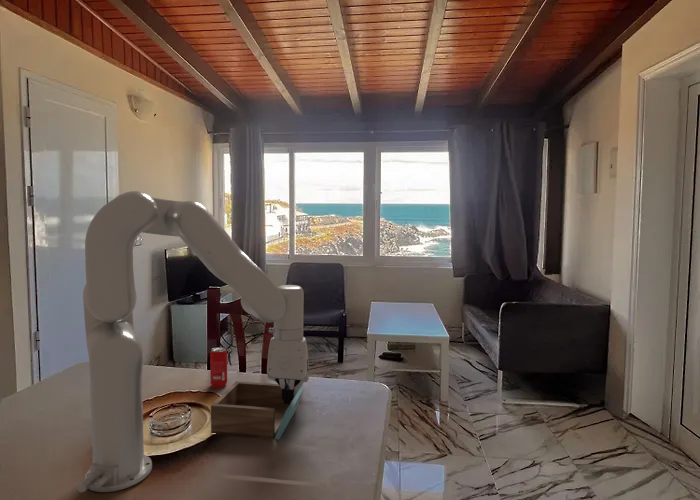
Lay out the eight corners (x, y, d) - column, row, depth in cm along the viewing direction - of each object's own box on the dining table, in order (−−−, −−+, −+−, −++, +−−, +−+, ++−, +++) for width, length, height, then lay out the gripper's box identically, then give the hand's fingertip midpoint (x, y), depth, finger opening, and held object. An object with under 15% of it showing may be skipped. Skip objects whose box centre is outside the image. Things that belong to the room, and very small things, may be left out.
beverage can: (207, 387, 139) (206, 350, 138) (216, 381, 144) (216, 346, 143) (221, 389, 137) (221, 352, 136) (230, 383, 142) (230, 347, 141)
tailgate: (278, 440, 106) (289, 413, 105) (275, 438, 106) (285, 411, 105) (295, 410, 122) (304, 387, 121) (292, 409, 122) (301, 386, 121)
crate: (273, 441, 106) (273, 410, 106) (211, 436, 108) (210, 405, 108) (290, 412, 122) (290, 385, 121) (236, 408, 124) (236, 381, 123)
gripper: (255, 335, 109) (255, 406, 111) (314, 338, 107) (313, 410, 109) (265, 328, 117) (264, 394, 118) (319, 331, 115) (318, 398, 116)
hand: (288, 402), depth 113 cm, fingers closed
